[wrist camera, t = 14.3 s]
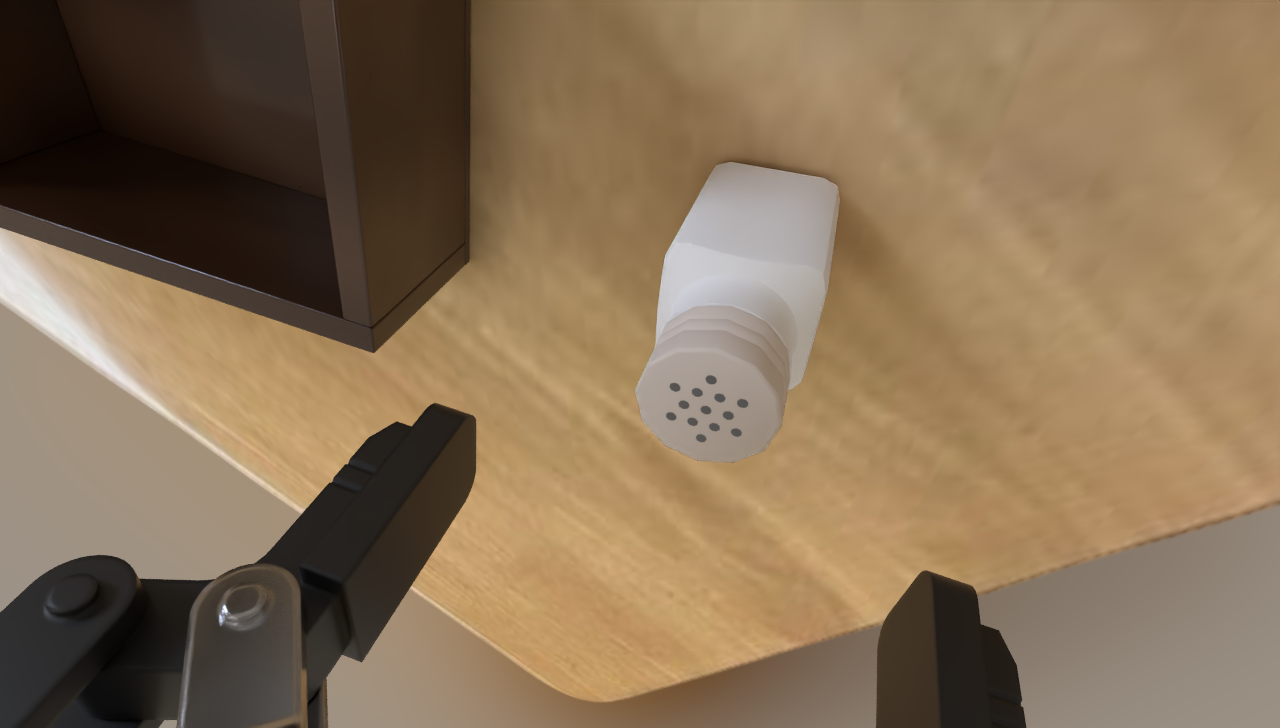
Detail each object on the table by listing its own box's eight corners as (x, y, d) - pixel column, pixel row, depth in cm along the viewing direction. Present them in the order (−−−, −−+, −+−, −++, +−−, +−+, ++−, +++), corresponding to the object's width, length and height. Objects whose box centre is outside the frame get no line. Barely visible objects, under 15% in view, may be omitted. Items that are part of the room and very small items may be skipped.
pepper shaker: (714, 151, 21) (621, 312, 14) (846, 174, 20) (822, 357, 13) (699, 265, 23) (613, 452, 16) (815, 288, 23) (780, 497, 15)
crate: (-75, -329, 19) (-398, -390, 14) (472, -207, 17) (309, -230, 12) (95, 144, 28) (-70, 204, 23) (469, 262, 26) (374, 354, 21)
